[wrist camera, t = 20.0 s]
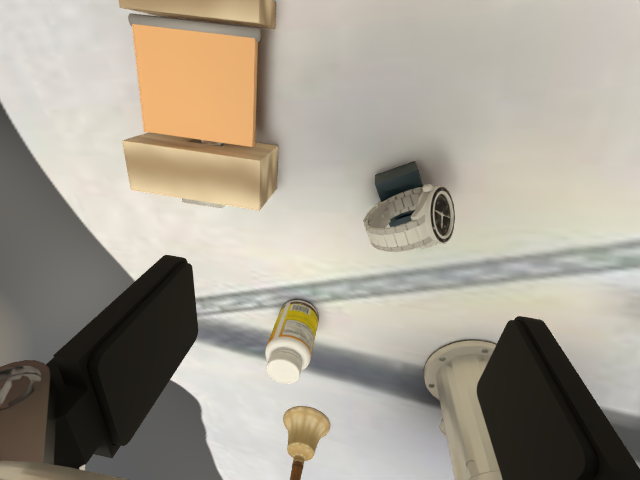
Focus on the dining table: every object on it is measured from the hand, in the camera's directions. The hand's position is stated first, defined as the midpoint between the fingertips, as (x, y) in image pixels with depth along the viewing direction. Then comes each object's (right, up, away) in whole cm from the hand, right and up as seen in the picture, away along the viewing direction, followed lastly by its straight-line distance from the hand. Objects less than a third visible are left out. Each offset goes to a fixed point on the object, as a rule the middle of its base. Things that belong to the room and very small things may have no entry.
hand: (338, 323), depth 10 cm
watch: (+9, +8, +27) cm, 29 cm away
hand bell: (-3, -29, +49) cm, 57 cm away
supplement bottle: (-3, -8, +37) cm, 38 cm away
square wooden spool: (-11, +17, +25) cm, 33 cm away
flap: (-12, +17, +21) cm, 30 cm away
